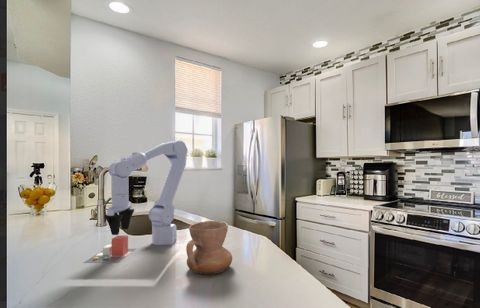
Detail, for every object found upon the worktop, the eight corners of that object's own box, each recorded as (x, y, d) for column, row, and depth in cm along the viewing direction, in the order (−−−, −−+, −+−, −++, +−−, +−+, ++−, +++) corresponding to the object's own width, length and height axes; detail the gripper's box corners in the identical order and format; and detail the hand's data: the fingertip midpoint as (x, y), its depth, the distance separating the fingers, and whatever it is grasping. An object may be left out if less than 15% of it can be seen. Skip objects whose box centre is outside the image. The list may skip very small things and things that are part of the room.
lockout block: (128, 252, 99) (127, 235, 99) (122, 255, 95) (122, 238, 95) (117, 252, 99) (117, 235, 99) (111, 255, 95) (111, 238, 95)
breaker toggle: (114, 251, 99) (114, 244, 99) (109, 255, 95) (109, 247, 95) (108, 251, 99) (108, 244, 99) (102, 255, 95) (102, 247, 95)
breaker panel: (136, 252, 103) (136, 247, 103) (118, 267, 89) (118, 260, 89) (105, 252, 103) (105, 247, 103) (82, 267, 89) (82, 260, 89)
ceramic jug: (211, 256, 97) (210, 217, 97) (243, 264, 88) (242, 221, 89) (171, 274, 83) (169, 228, 83) (205, 287, 74) (203, 235, 74)
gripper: (118, 191, 105) (119, 226, 105) (98, 197, 91) (98, 237, 90) (136, 191, 105) (136, 226, 105) (118, 196, 90) (119, 237, 90)
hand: (120, 231), depth 97 cm, fingers open, 7 cm apart
